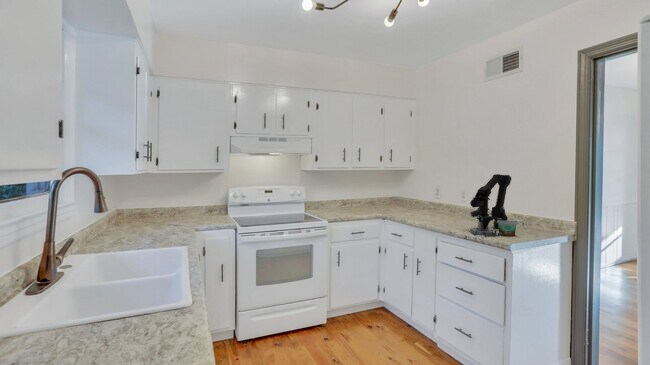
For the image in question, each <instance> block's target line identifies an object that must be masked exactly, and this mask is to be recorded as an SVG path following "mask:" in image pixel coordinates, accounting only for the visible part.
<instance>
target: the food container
mask: <svg viewBox="0 0 650 365" xmlns="http://www.w3.org/2000/svg"><path fill="white" fill-rule="evenodd" d="M497 223H498V229H497V230H498V233H500V236H501V237H502V236H503V237H515V235H516V231H517V225H518V224H519V223H518V220H517V219H516V220H506V221H502V220H498V221H497Z"/></svg>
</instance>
